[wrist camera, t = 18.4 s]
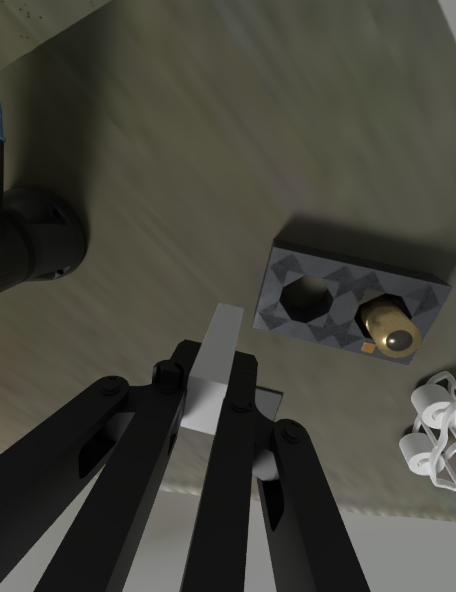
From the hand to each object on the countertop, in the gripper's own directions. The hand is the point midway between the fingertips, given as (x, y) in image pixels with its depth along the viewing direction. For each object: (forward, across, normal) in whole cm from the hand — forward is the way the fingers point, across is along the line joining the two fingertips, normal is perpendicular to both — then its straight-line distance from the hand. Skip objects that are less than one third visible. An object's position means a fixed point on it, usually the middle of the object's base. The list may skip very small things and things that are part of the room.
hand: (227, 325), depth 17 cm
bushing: (+29, +20, -7) cm, 36 cm away
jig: (+29, +15, -7) cm, 33 cm away
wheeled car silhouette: (+29, +39, -25) cm, 55 cm away
